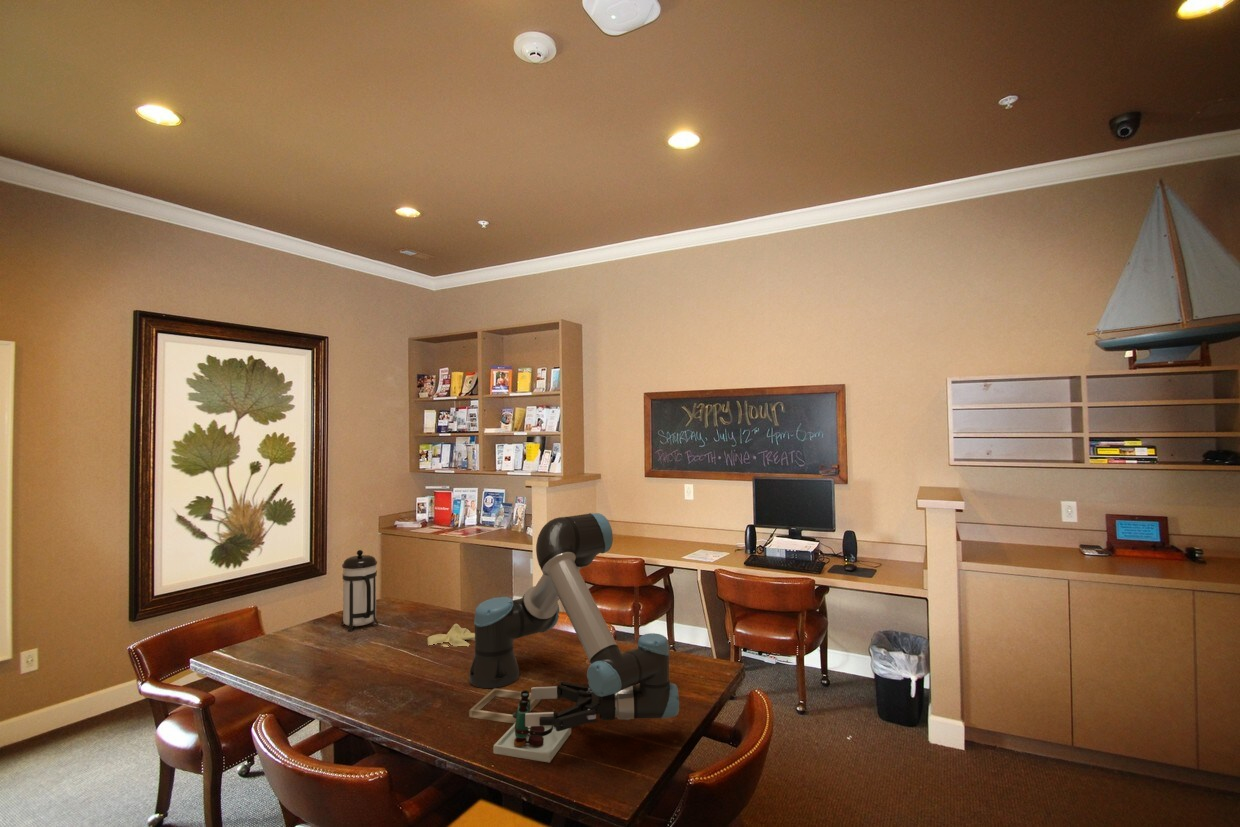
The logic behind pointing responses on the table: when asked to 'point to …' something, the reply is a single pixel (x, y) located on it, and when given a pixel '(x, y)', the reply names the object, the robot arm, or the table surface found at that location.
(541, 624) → the robot arm
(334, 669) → the table surface
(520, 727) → the binoculars
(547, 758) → the tray
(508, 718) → the holder
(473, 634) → the cloth
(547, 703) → the table surface
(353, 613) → the coffee press
